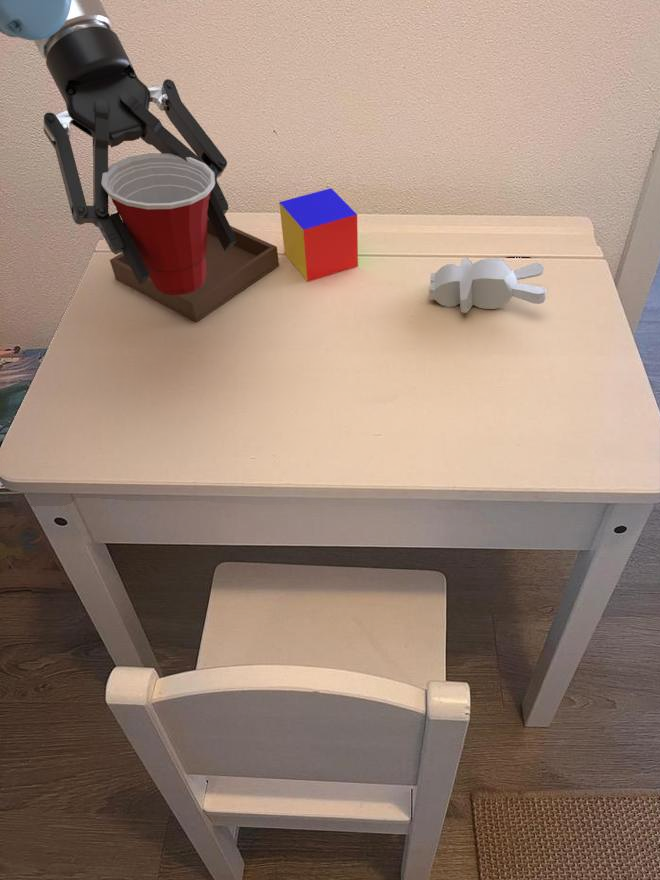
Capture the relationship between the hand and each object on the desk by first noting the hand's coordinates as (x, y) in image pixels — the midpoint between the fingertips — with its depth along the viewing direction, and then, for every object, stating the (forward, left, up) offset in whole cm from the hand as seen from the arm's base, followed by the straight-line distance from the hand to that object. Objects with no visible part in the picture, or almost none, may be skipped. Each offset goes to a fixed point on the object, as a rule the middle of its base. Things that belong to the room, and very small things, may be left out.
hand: (188, 262), depth 74 cm
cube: (-7, +28, -17) cm, 34 cm away
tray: (-19, +15, -17) cm, 30 cm away
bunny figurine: (+17, +34, -17) cm, 42 cm away
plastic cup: (-3, +1, -4) cm, 5 cm away
